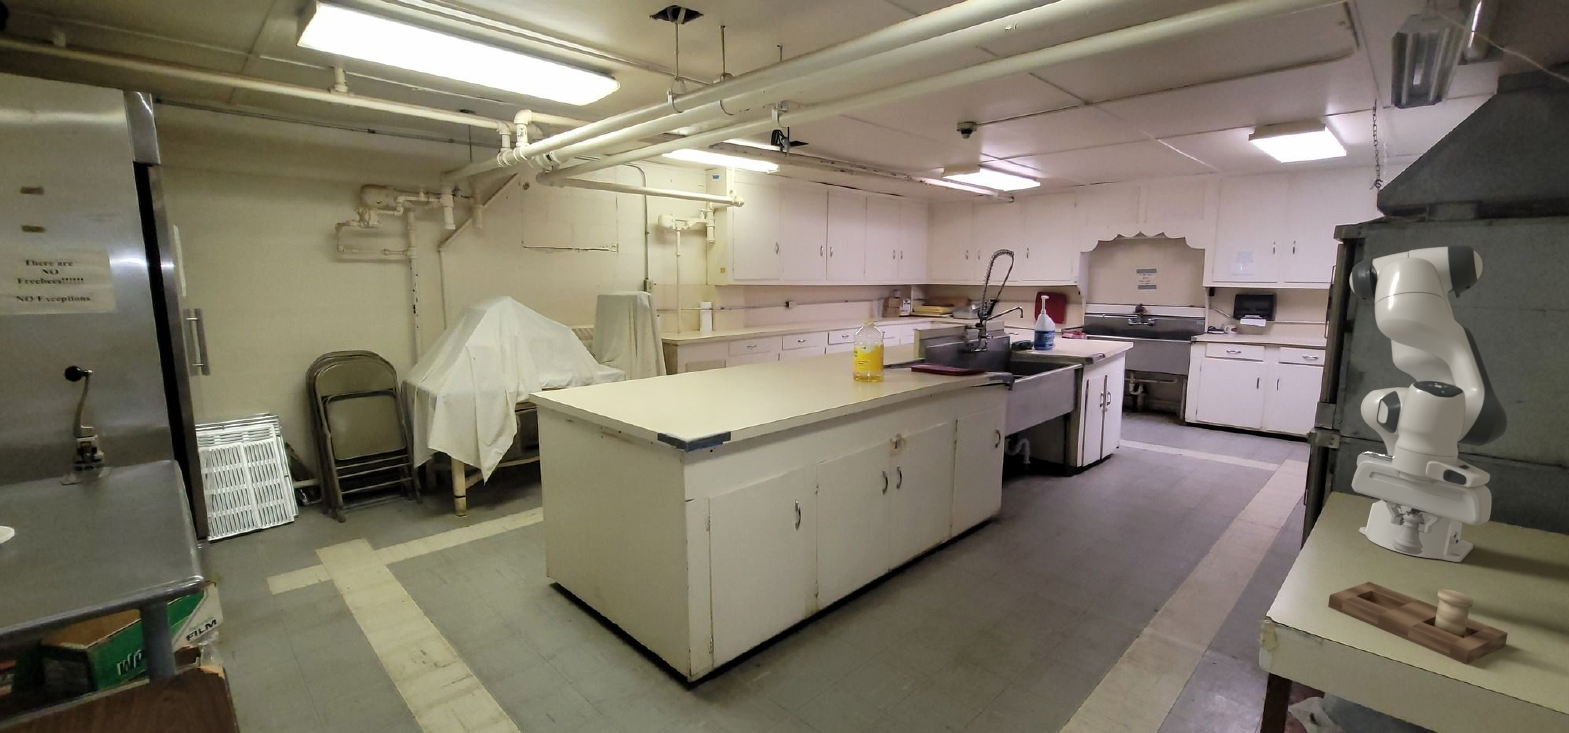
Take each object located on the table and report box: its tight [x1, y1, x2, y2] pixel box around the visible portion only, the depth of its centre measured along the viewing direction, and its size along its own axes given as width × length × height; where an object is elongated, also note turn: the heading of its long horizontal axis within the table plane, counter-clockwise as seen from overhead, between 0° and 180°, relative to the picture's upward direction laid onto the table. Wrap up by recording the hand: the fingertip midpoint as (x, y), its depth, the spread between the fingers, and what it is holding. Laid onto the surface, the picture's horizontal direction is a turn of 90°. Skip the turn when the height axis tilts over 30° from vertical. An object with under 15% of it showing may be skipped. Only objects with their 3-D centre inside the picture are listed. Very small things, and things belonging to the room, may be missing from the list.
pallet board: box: [1327, 581, 1509, 665], centre depth 118 cm, size 14×20×9 cm
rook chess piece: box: [1393, 511, 1425, 556], centre depth 128 cm, size 4×4×8 cm
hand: (1410, 528), depth 128 cm, fingers closed on rook chess piece, 3 cm apart
